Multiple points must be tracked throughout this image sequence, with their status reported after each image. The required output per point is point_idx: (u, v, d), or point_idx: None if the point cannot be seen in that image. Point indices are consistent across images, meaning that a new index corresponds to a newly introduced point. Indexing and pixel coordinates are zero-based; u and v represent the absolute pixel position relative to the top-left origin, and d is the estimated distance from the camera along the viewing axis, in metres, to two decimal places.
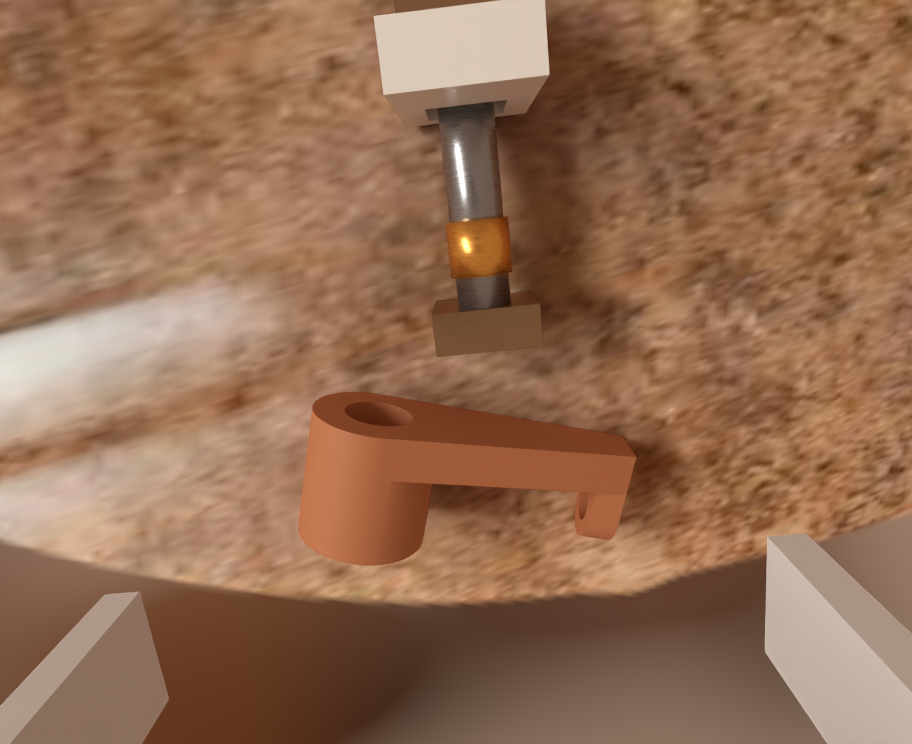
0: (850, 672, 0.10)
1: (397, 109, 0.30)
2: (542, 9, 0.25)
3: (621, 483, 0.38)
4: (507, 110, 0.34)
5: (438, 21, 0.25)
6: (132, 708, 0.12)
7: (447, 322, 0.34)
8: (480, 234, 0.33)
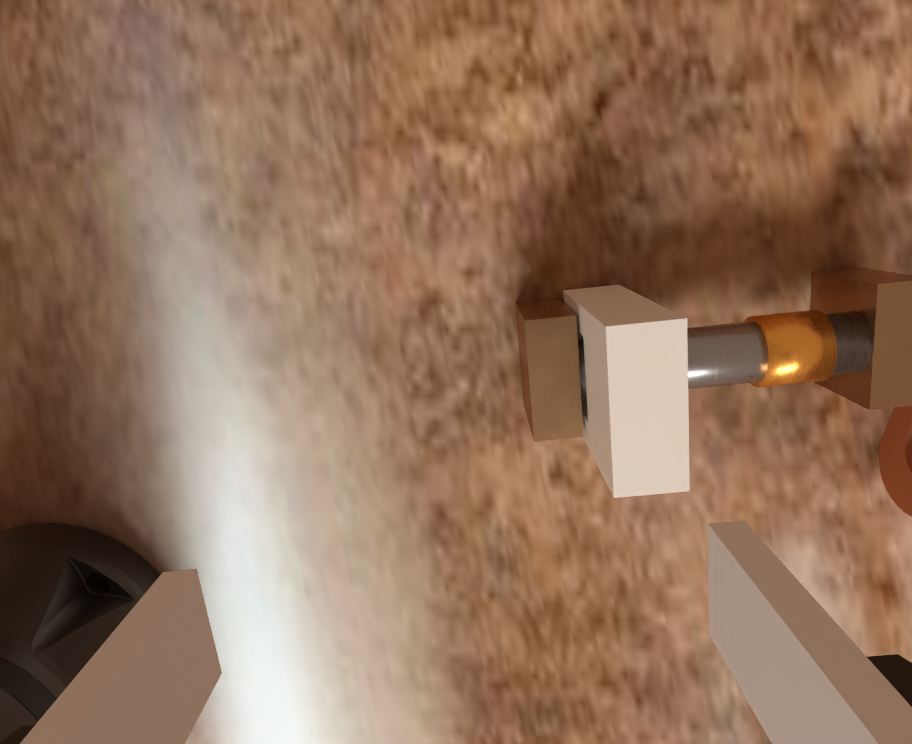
0: (770, 647, 0.10)
1: None
2: (619, 328, 0.23)
3: None
4: None
5: (623, 435, 0.24)
6: (192, 679, 0.13)
7: (881, 392, 0.29)
8: (787, 356, 0.28)
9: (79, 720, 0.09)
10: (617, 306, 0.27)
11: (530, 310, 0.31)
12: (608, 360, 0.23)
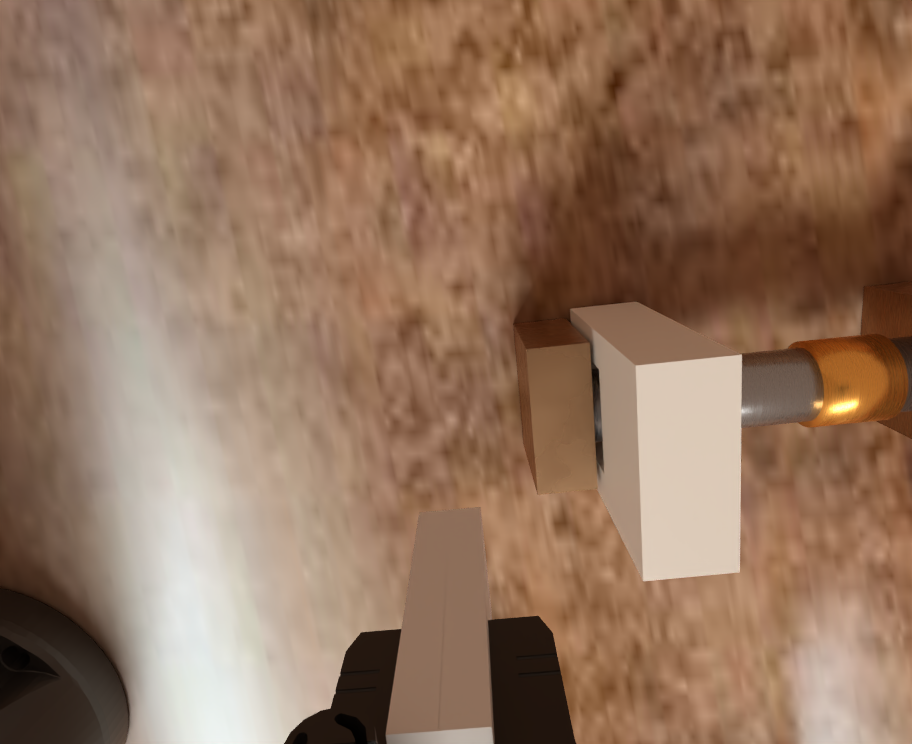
0: None
1: None
2: (654, 367, 0.18)
3: None
4: None
5: (656, 503, 0.19)
6: None
7: None
8: (847, 392, 0.23)
9: (439, 620, 0.11)
10: (643, 333, 0.21)
11: (532, 334, 0.26)
12: (638, 409, 0.18)
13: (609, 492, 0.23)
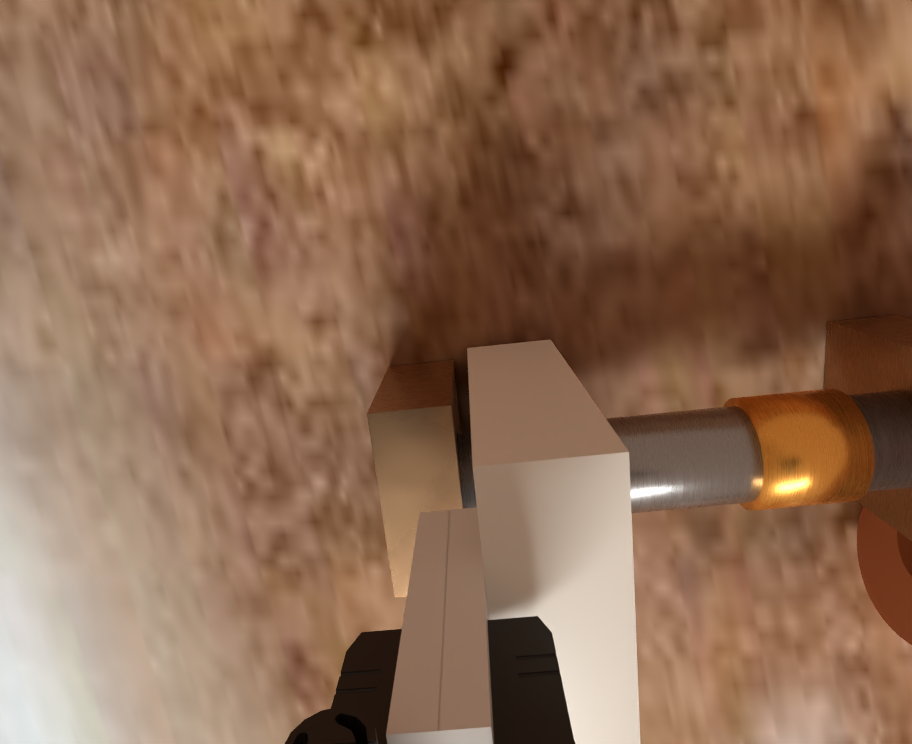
0: None
1: None
2: (500, 469, 0.12)
3: None
4: None
5: None
6: None
7: None
8: (793, 470, 0.18)
9: (439, 620, 0.11)
10: (523, 398, 0.16)
11: (395, 386, 0.20)
12: (481, 528, 0.12)
13: None
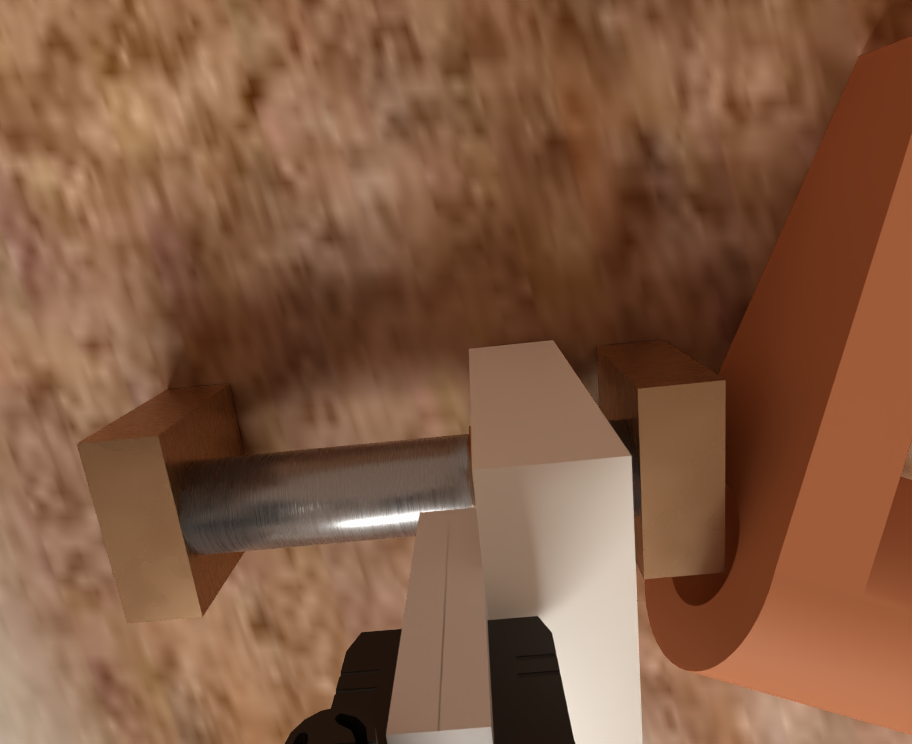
0: None
1: None
2: (499, 473, 0.12)
3: None
4: None
5: None
6: None
7: (660, 554, 0.18)
8: None
9: (439, 620, 0.11)
10: (524, 400, 0.15)
11: (140, 412, 0.20)
12: (481, 533, 0.12)
13: None
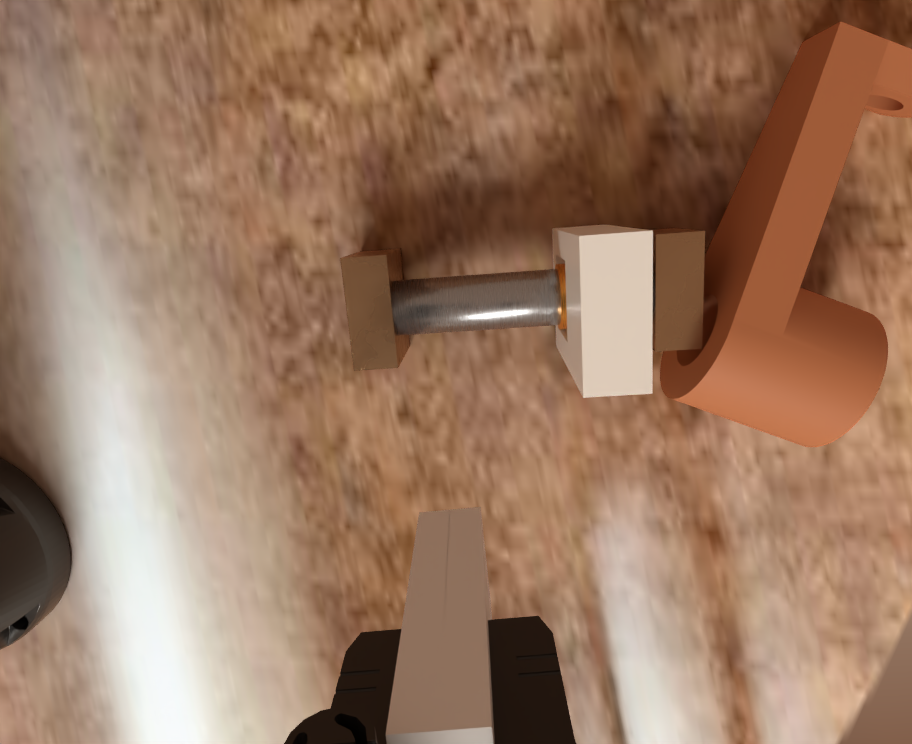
0: None
1: None
2: (591, 237, 0.25)
3: (872, 45, 0.30)
4: None
5: (593, 338, 0.26)
6: None
7: (665, 335, 0.32)
8: None
9: (439, 620, 0.11)
10: (595, 230, 0.29)
11: None
12: (581, 268, 0.26)
13: (569, 354, 0.31)
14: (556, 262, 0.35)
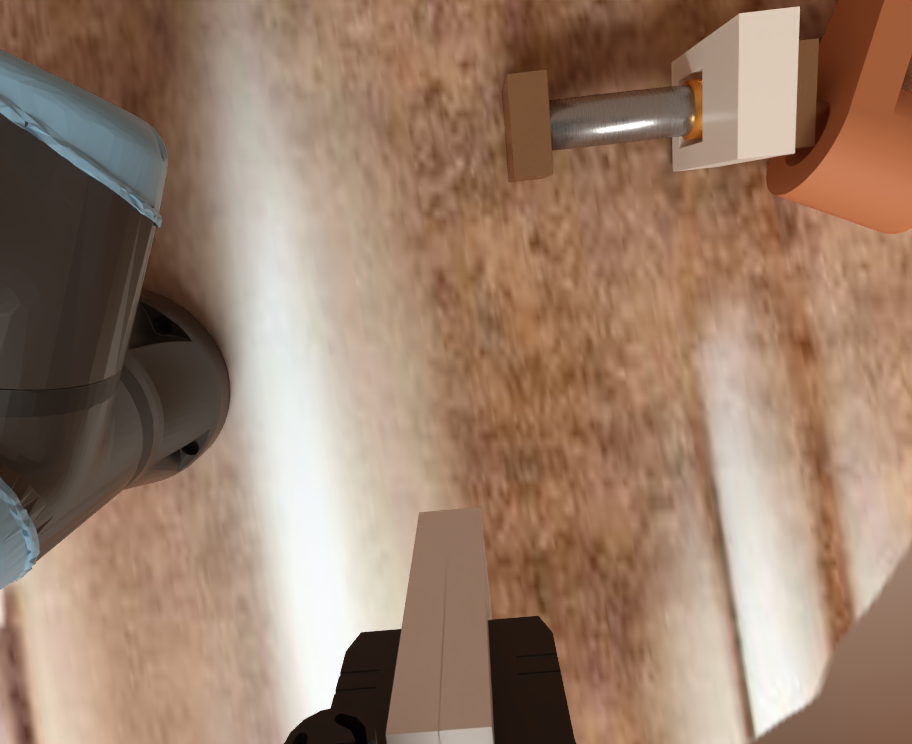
0: None
1: None
2: (749, 14, 0.31)
3: None
4: None
5: (747, 105, 0.32)
6: None
7: None
8: None
9: (439, 620, 0.11)
10: None
11: None
12: (739, 42, 0.31)
13: (707, 147, 0.37)
14: None
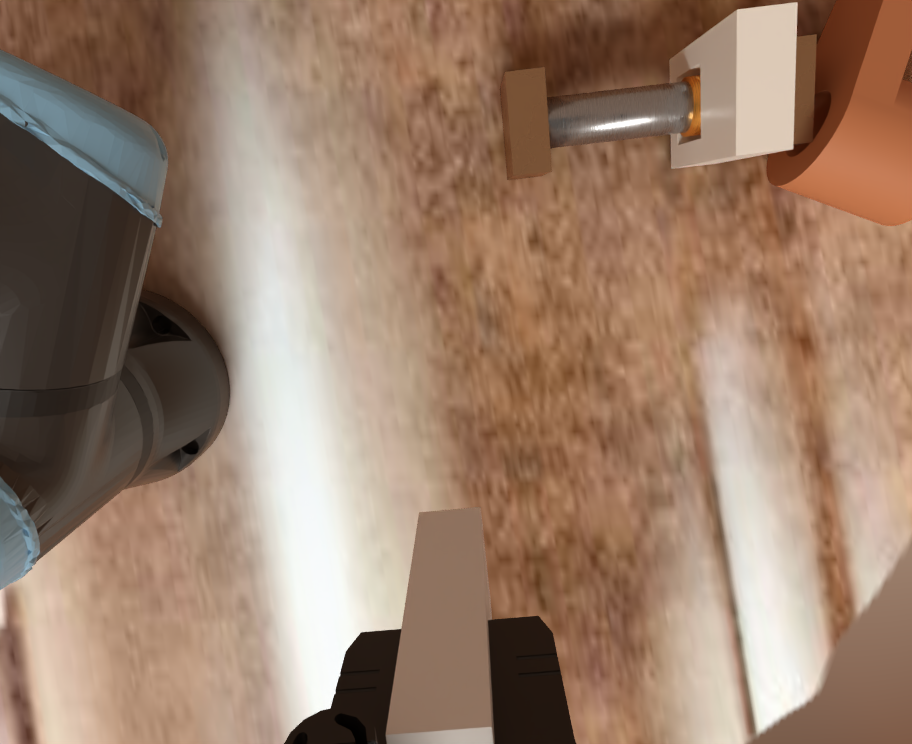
0: None
1: None
2: (747, 10, 0.31)
3: None
4: None
5: (745, 101, 0.32)
6: None
7: None
8: None
9: (439, 620, 0.11)
10: None
11: None
12: (737, 38, 0.31)
13: (705, 144, 0.37)
14: None
